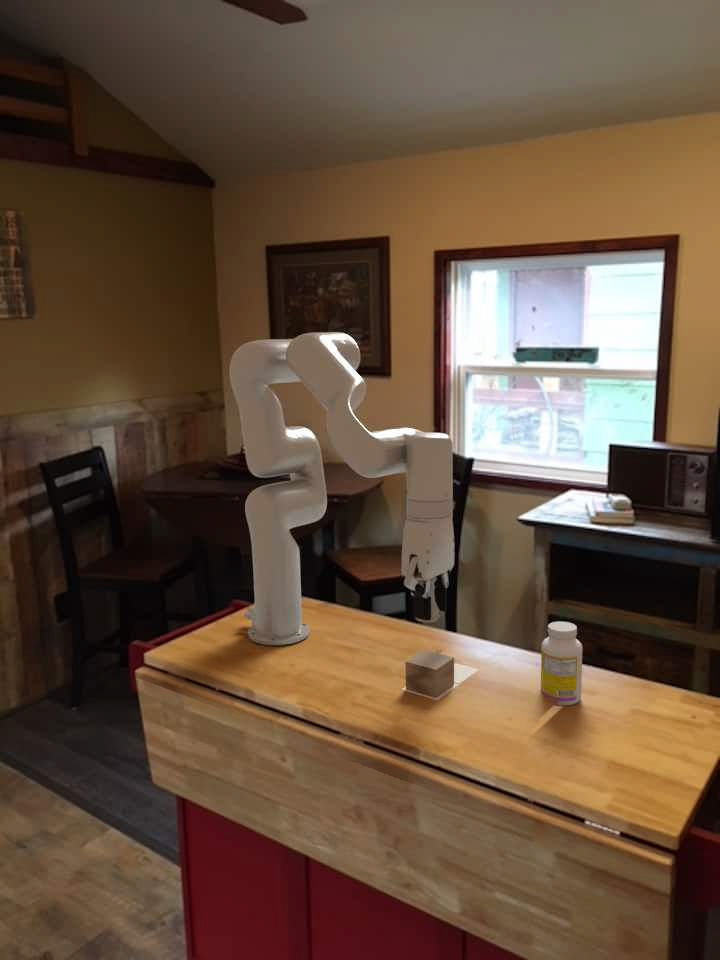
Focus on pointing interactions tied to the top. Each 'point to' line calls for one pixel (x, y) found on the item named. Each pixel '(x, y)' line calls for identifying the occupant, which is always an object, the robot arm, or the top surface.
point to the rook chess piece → (433, 604)
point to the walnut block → (429, 673)
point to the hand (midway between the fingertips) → (430, 613)
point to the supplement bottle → (561, 664)
